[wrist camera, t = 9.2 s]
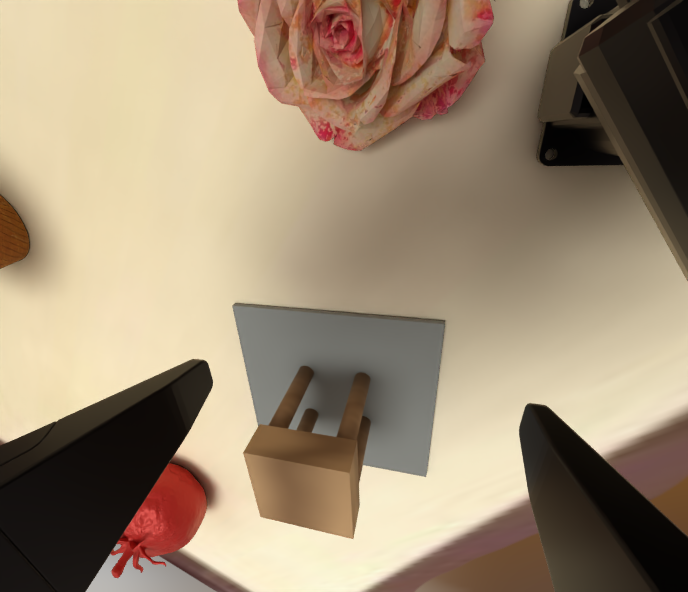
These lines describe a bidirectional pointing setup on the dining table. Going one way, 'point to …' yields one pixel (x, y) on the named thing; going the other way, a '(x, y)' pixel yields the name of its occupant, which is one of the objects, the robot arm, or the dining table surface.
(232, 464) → the dining table surface
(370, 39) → the flower
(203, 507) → the pomegranate
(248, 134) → the dining table surface
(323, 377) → the mat
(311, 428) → the stool
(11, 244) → the disposable coffee cup
